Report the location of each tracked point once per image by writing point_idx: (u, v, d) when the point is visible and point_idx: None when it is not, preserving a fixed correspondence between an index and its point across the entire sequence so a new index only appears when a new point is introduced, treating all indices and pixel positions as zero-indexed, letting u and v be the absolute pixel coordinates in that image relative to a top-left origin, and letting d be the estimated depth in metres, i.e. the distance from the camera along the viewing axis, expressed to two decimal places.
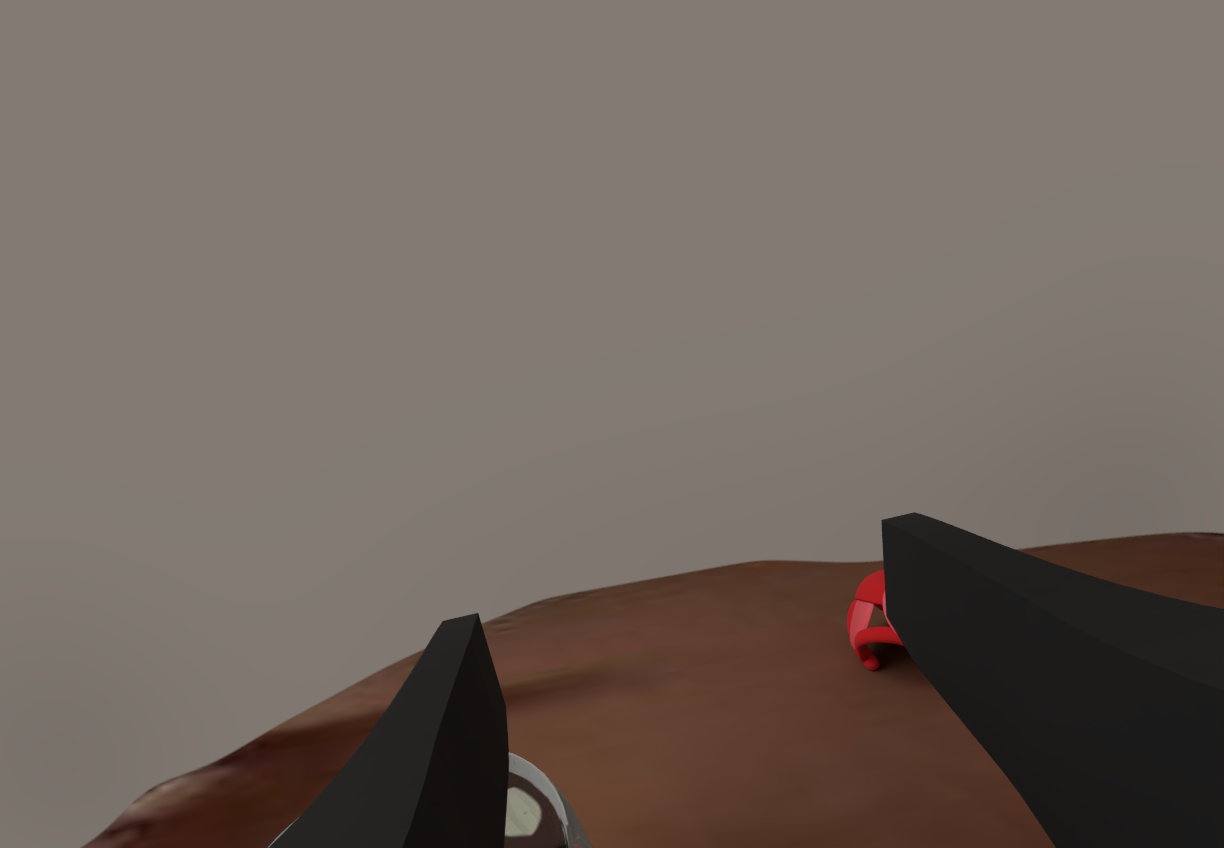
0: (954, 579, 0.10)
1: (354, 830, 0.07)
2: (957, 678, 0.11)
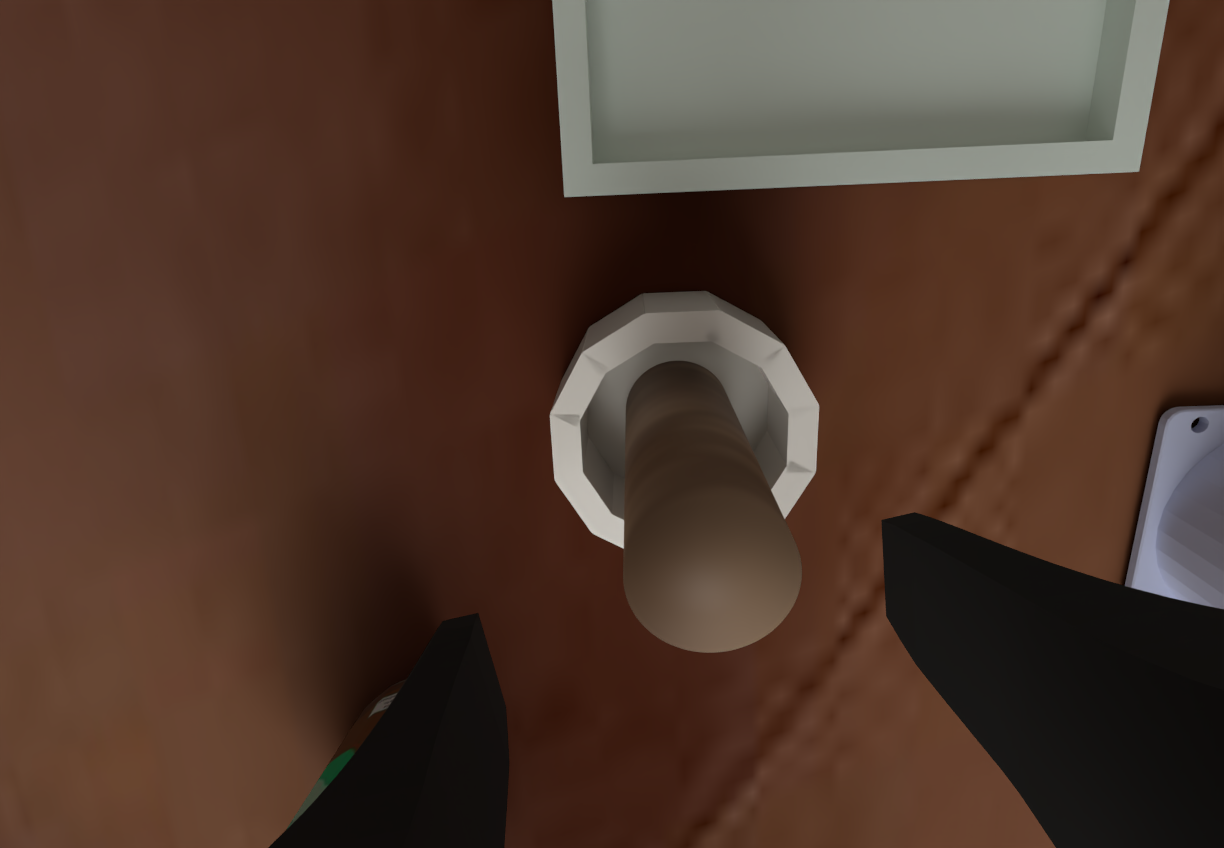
0: (954, 579, 0.10)
1: (354, 830, 0.07)
2: (957, 678, 0.11)
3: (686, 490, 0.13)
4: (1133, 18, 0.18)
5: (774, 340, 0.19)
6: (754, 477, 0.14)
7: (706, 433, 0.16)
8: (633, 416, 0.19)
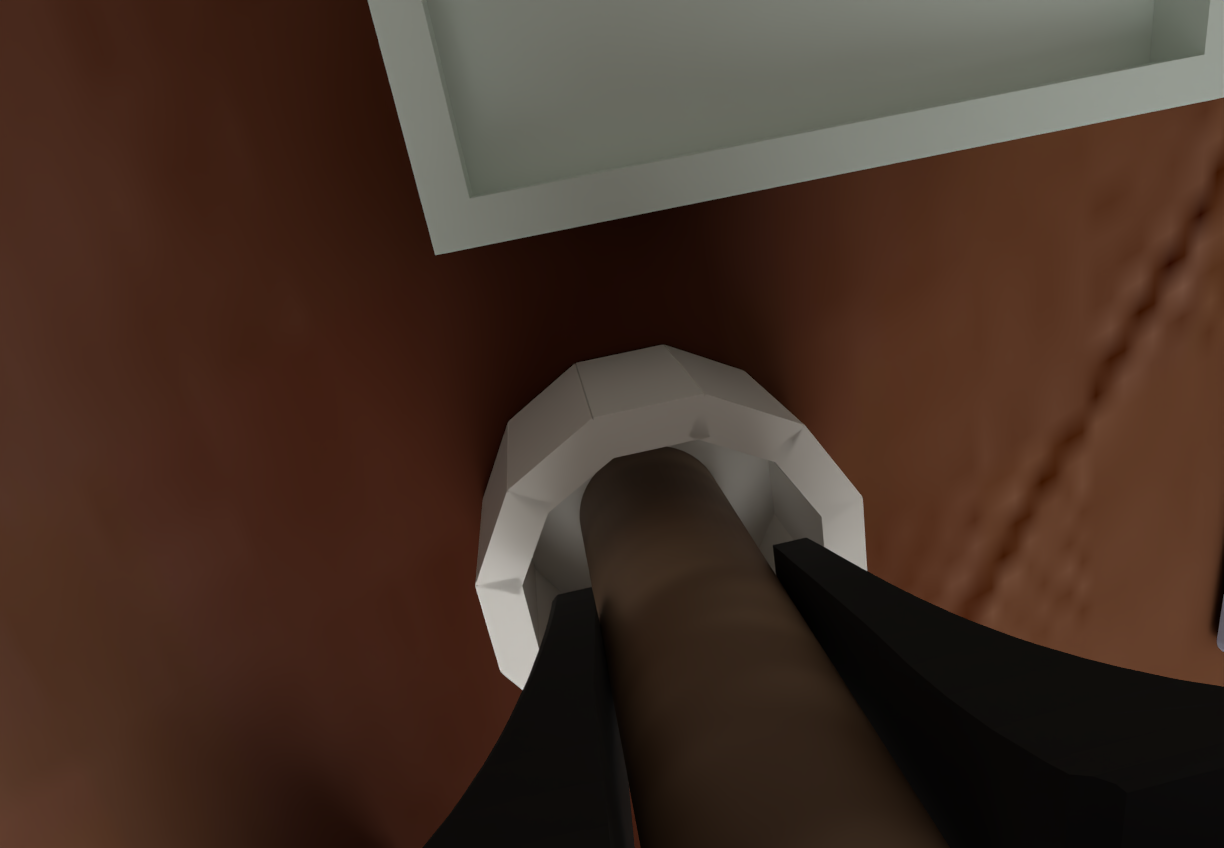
0: (826, 609, 0.10)
1: (545, 783, 0.07)
2: None
3: None
4: None
5: (789, 421, 0.12)
6: (858, 741, 0.08)
7: (740, 634, 0.09)
8: (600, 564, 0.13)
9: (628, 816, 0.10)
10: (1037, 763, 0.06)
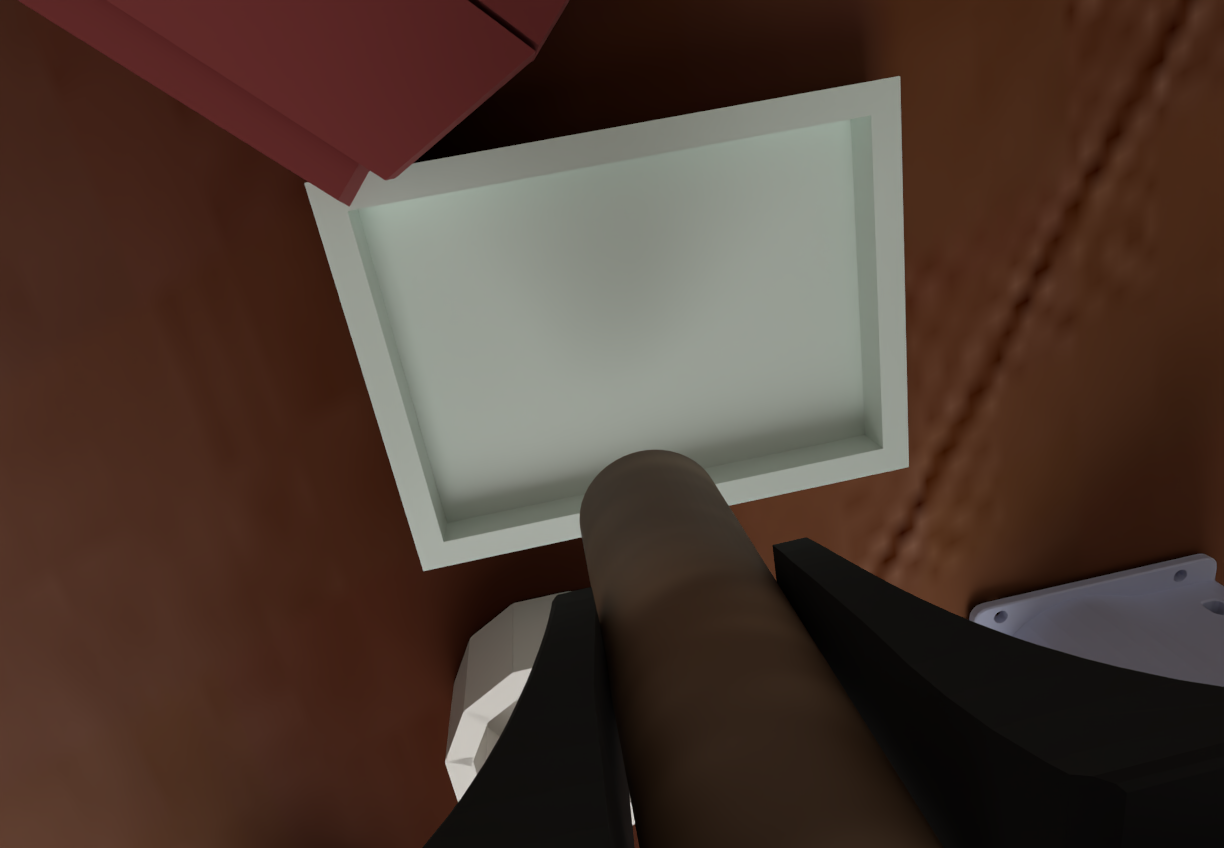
0: (825, 609, 0.10)
1: (545, 783, 0.07)
2: None
3: None
4: (880, 361, 0.21)
5: None
6: (862, 750, 0.08)
7: (746, 640, 0.09)
8: (602, 565, 0.13)
9: (628, 816, 0.10)
10: (1037, 763, 0.06)
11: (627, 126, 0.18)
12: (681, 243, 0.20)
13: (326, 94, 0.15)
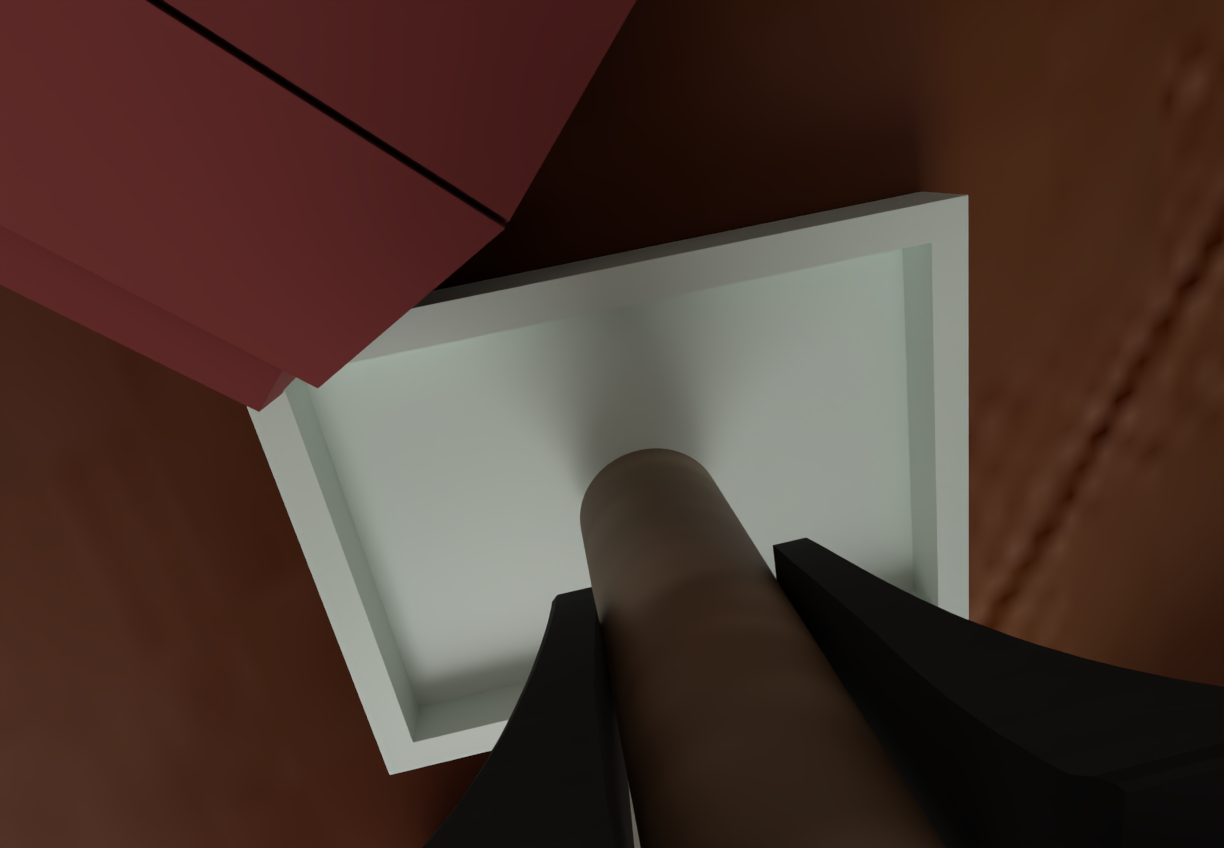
0: (826, 610, 0.10)
1: (545, 783, 0.07)
2: None
3: None
4: (937, 522, 0.17)
5: None
6: (864, 748, 0.08)
7: (747, 638, 0.09)
8: (602, 564, 0.13)
9: (628, 816, 0.10)
10: (1037, 764, 0.06)
11: (629, 265, 0.14)
12: (696, 387, 0.17)
13: (236, 291, 0.12)
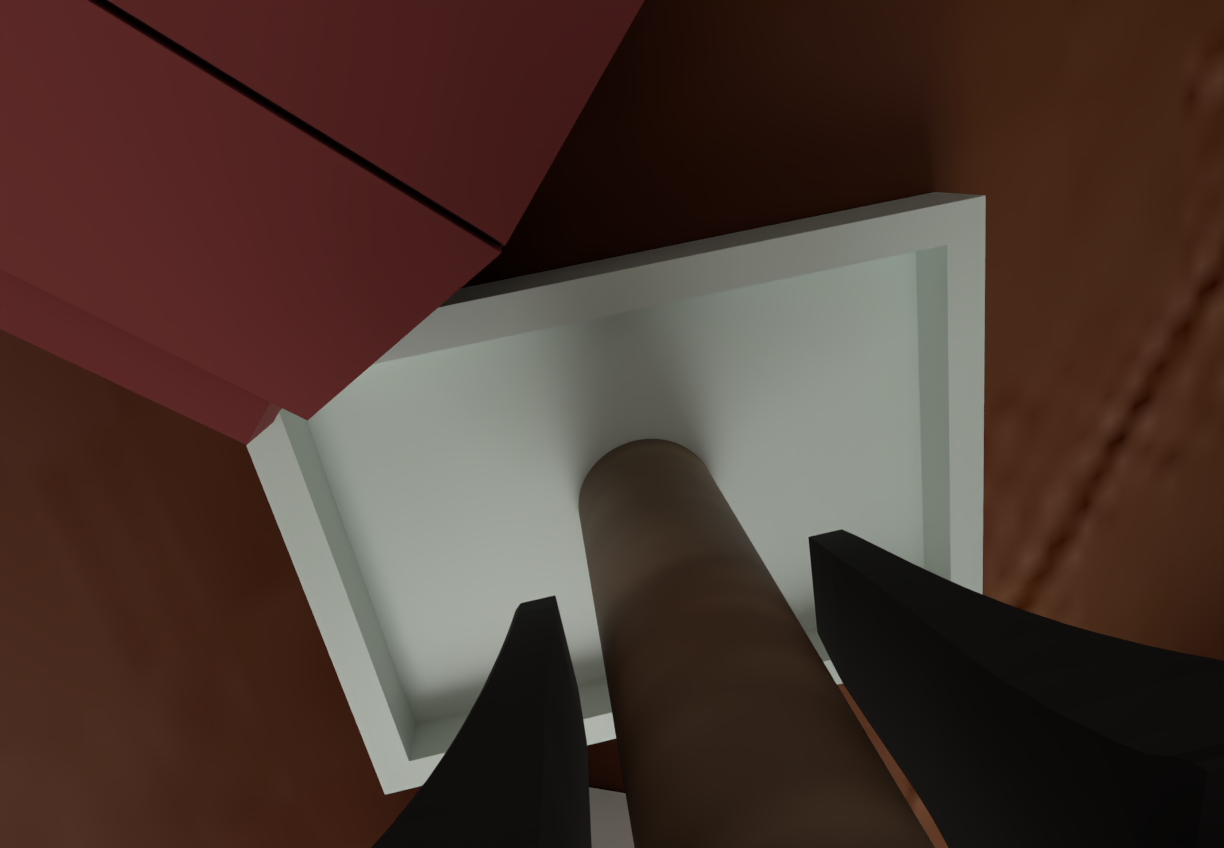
0: (868, 600, 0.10)
1: (484, 798, 0.07)
2: (876, 697, 0.11)
3: (750, 809, 0.07)
4: (950, 533, 0.17)
5: None
6: (836, 717, 0.08)
7: (730, 616, 0.10)
8: (598, 549, 0.13)
9: (585, 826, 0.10)
10: (1109, 745, 0.06)
11: (633, 269, 0.14)
12: (702, 394, 0.16)
13: (220, 321, 0.11)
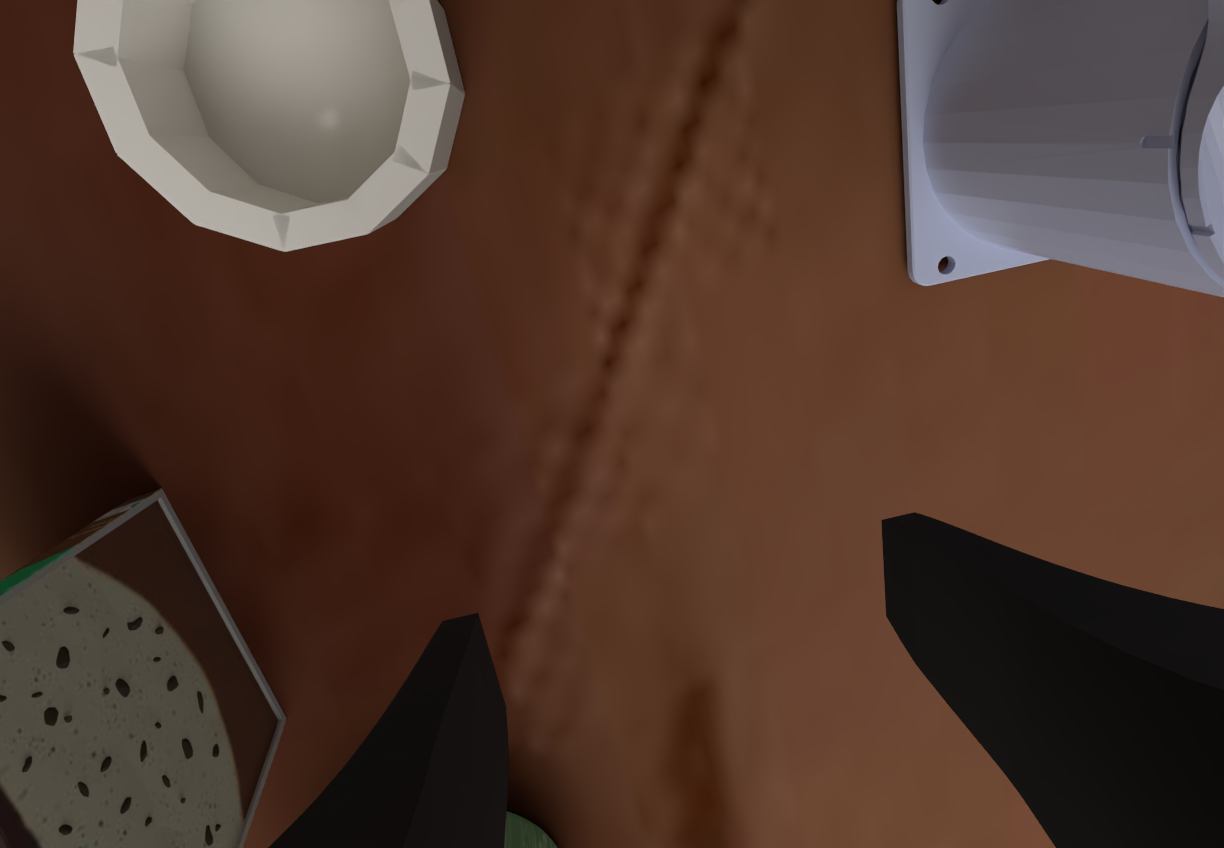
0: (954, 579, 0.10)
1: (354, 830, 0.07)
2: (958, 678, 0.11)
3: None
4: None
5: None
6: None
7: None
8: None
9: None
10: None
11: None
12: None
13: None
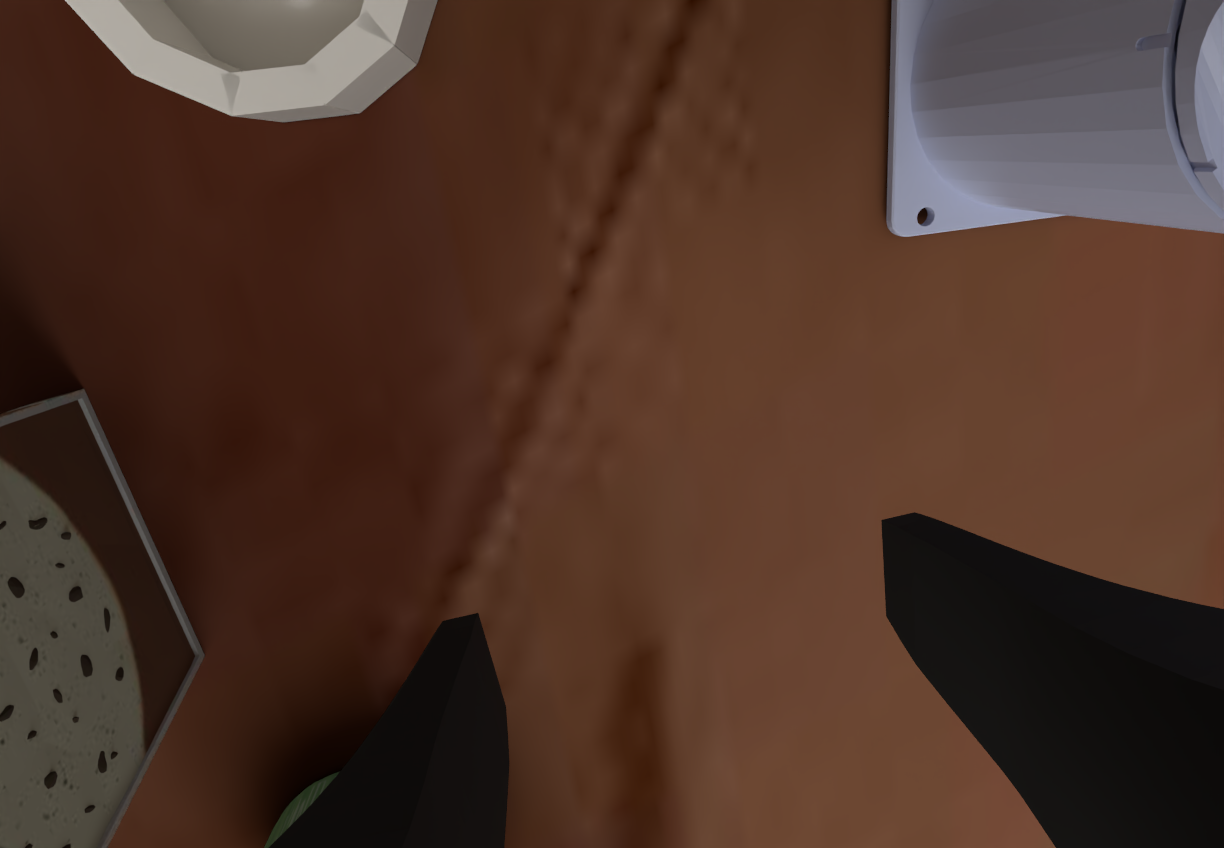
0: (954, 579, 0.10)
1: (354, 830, 0.07)
2: (957, 678, 0.11)
3: None
4: None
5: None
6: None
7: None
8: None
9: None
10: None
11: None
12: None
13: None
